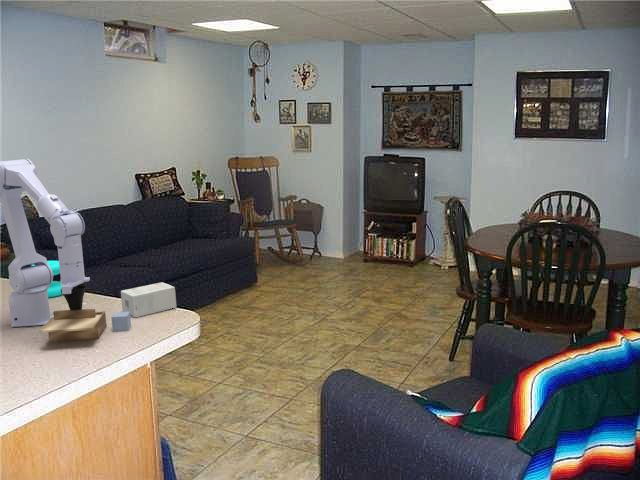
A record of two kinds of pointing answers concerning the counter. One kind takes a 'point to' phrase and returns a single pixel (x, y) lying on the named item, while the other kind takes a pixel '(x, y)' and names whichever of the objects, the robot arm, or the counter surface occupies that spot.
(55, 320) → the lid
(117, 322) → the block
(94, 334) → the wooden box
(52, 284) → the donuts
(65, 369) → the counter surface
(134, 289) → the small box
